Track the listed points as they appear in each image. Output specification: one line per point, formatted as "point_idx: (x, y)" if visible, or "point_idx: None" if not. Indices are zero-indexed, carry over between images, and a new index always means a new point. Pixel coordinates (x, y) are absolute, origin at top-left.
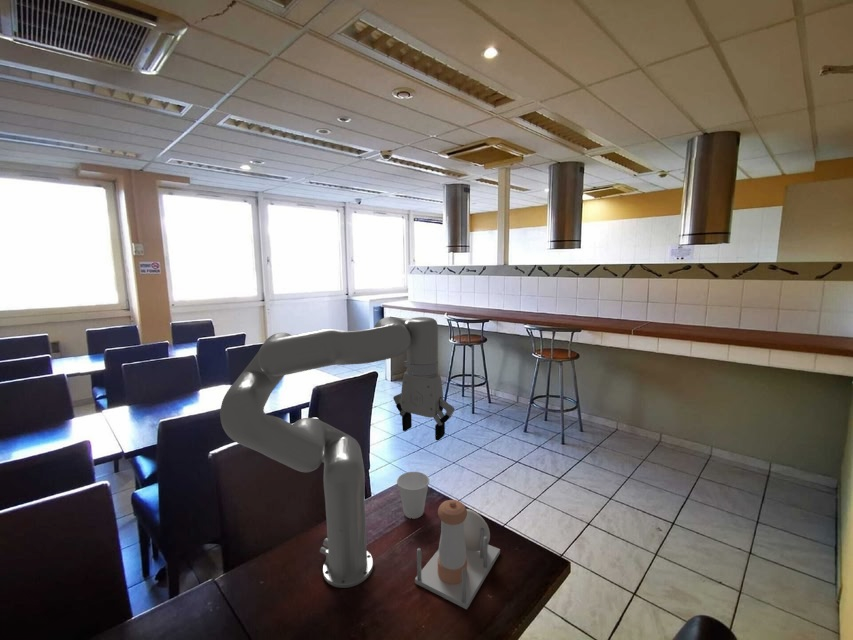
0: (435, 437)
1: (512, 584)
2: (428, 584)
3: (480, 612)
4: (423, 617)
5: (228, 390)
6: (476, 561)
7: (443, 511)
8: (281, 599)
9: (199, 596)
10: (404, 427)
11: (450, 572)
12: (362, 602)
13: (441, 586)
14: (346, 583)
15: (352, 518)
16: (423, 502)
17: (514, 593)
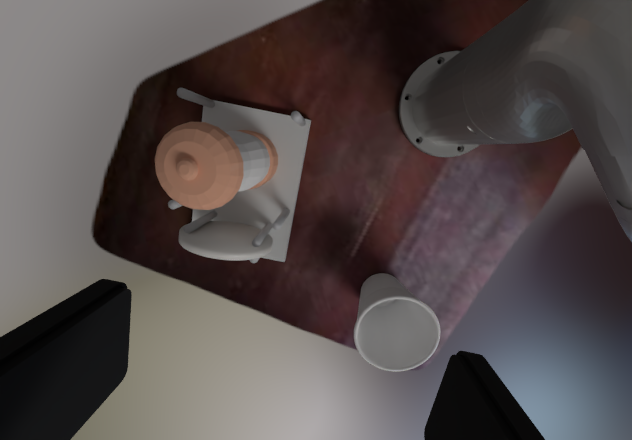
0: (113, 295)
1: (155, 179)
2: (281, 116)
3: (185, 103)
4: (269, 56)
5: None
6: None
7: (209, 136)
8: None
9: None
10: (478, 379)
11: (238, 130)
12: (385, 43)
13: (258, 120)
14: (432, 59)
15: (490, 33)
16: (360, 301)
17: (146, 161)
